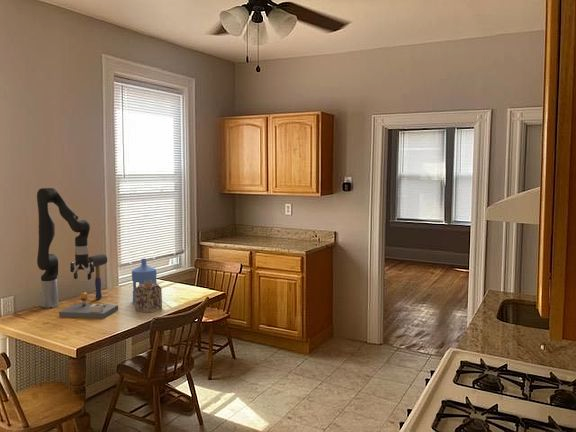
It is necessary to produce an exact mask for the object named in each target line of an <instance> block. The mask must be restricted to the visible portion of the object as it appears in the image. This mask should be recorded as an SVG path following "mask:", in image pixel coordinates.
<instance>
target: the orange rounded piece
mask: <svg viewBox="0 0 576 432" xmlns="http://www.w3.org/2000/svg"><path fill="white" fill-rule="evenodd" d="M79 294H80V295H79V296H80V297H79V298H80V301H81V304H82V306H86V304H87V300H88V292H85V291H84V292H80V293H79Z"/></svg>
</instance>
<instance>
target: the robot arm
mask: <svg viewBox="0 0 576 432" xmlns="http://www.w3.org/2000/svg"><path fill="white" fill-rule="evenodd" d="M36 201H37V212H38V248H37V260H36V263H37V267H38V269H39V270H41V271H44V272H43V274H41V277H40V283H41V291H40V295H39V296H40V307H41V308H43V307H44V308H43V309H50V307H52V308H55V307H58V306H59V289H58V275H59V260H58V257H57V255H56V254H53V253H50V246H51V245H52V242H53V239H54V238H55V235H56V233H55V232H56V225H55V221H54V219H53V217H52V215H51V213H50V212H49V204H51V203H53V204H54V205H55V206H57V208H58V212H59V214H60V216H61V217H62V218H63V219H64V220H65V221H66V222H67V224H68V225H69V228H70V229H71V230H72V232H74V233H79V235H77V236H75V238H74V246H75V247H74V257H75V258H74V259H75V260H74V261H72V262H70V267H69V268H70V273H73V279H74V280H78V271H79V270H81V271H82V270H83V271H85V272H86V273H87V281H88V280H91V279H92V273H94V272H95V267H94V263H93V262H92V263H89V262H88V260H89V257H90V256H89V247H88V246H89V244H88V237H89V234H90V229H91V226H90V225H91V224H90V223H89V221H88V220H86V219H84V220H83V219H82V220H79V215H78V214H77V213H76V212H75V211H74V210H73V209H72V208H71V207H70V206H69V205H68V204H67V203H66V201H65V200H64V199H63V197H62V195H60V193H59V192H58V191H57V190H56V189H55V188H53V187H46V188H45V187H42V188H39V189H38V191H37V193H36ZM88 265H89V266H90V267H89V266H88Z"/></svg>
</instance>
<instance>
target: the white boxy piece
mask: <svg viewBox="0 0 576 432" xmlns="http://www.w3.org/2000/svg"><path fill="white" fill-rule="evenodd" d="M103 305H104V303H103V304H102V303H93V305H91V306H90V312H101V311H103V310H104V308H103Z"/></svg>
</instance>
